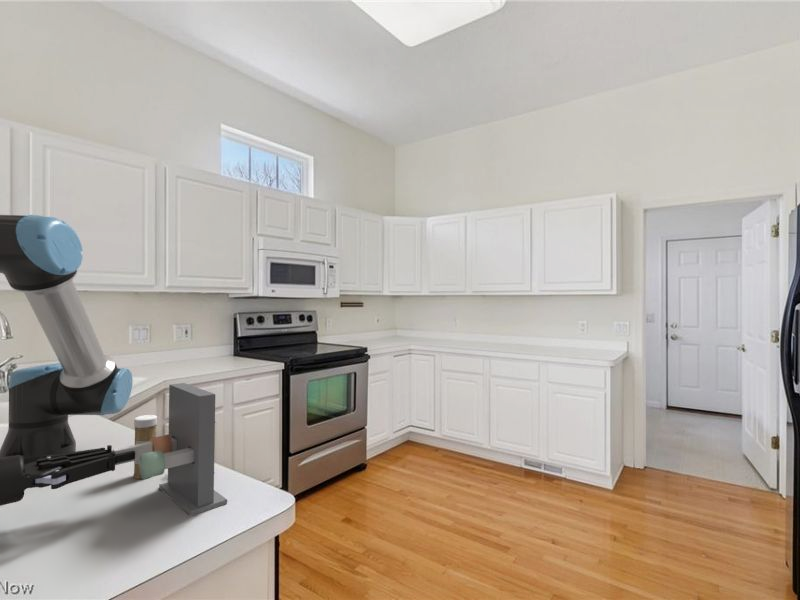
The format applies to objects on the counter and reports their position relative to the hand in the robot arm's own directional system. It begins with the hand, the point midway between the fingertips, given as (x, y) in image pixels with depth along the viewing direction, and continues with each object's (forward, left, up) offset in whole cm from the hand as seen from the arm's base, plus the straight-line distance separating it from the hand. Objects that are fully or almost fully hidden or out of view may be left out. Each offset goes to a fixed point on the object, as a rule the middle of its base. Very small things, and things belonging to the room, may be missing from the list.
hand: (151, 449), depth 87 cm
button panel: (+4, +6, -10) cm, 12 cm away
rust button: (0, +6, -2) cm, 6 cm away
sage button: (+9, +2, -2) cm, 9 cm away
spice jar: (-14, +3, -10) cm, 17 cm away
